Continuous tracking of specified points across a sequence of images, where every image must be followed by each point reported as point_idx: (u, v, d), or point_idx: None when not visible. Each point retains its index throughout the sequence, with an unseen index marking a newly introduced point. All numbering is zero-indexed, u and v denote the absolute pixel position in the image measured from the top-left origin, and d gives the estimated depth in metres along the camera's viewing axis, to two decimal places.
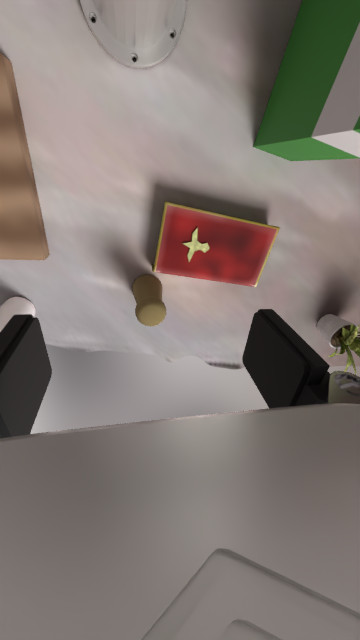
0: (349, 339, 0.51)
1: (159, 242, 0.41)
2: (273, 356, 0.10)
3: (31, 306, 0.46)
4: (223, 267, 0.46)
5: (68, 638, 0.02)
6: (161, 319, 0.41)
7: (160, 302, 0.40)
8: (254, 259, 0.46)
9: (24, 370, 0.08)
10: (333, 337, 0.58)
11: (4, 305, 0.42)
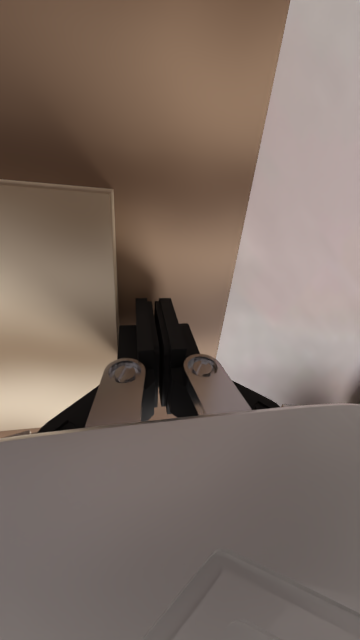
0: None
1: None
2: (158, 342, 0.10)
3: None
4: None
5: (68, 637, 0.02)
6: None
7: None
8: None
9: None
10: None
11: None
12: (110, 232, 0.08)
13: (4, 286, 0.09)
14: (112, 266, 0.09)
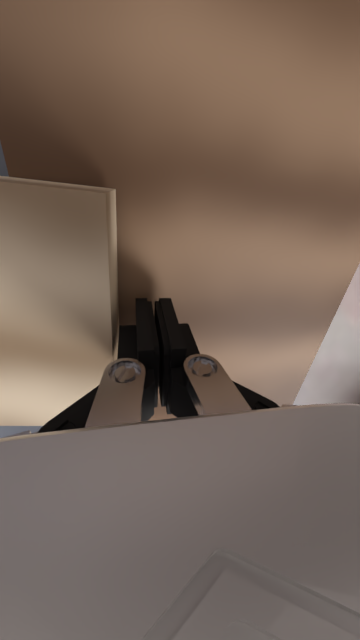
0: None
1: None
2: (158, 342, 0.10)
3: None
4: None
5: (68, 638, 0.02)
6: None
7: None
8: None
9: None
10: None
11: None
12: (106, 233, 0.08)
13: None
14: (108, 268, 0.08)
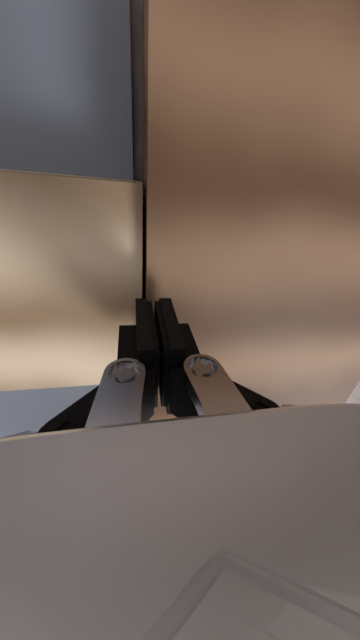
0: None
1: None
2: (158, 342, 0.10)
3: None
4: None
5: (68, 638, 0.02)
6: None
7: None
8: None
9: None
10: None
11: None
12: (141, 214, 0.10)
13: (56, 258, 0.11)
14: (141, 242, 0.11)
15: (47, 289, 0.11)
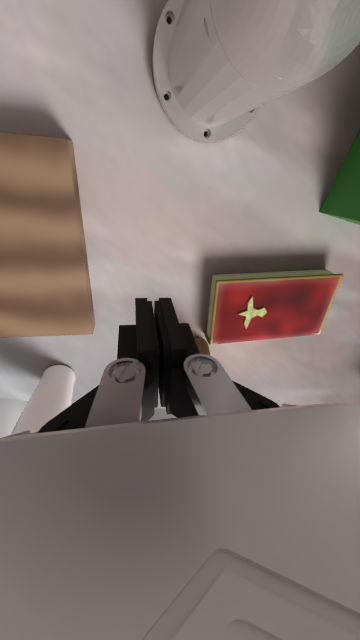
0: None
1: (213, 318, 0.39)
2: (158, 342, 0.10)
3: (72, 374, 0.42)
4: (282, 324, 0.42)
5: (68, 638, 0.02)
6: None
7: None
8: (316, 310, 0.42)
9: None
10: None
11: (47, 380, 0.39)
12: None
13: None
14: None
15: None
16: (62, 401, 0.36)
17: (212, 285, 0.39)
